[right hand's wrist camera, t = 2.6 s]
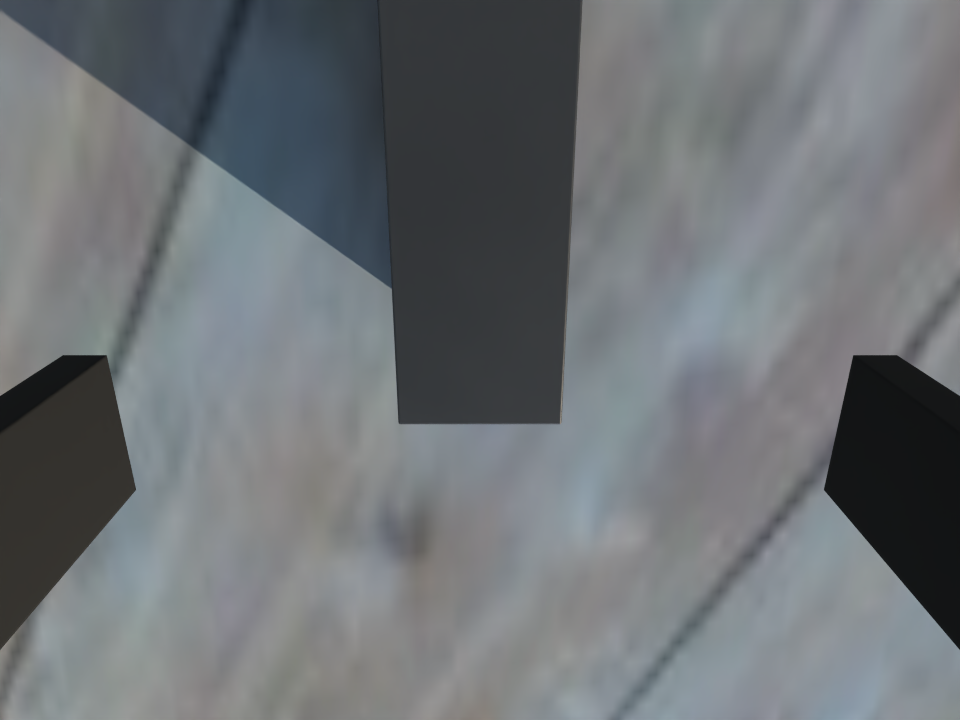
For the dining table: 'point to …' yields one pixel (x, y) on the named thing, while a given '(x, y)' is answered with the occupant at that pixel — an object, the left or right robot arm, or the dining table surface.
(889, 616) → the dining table surface
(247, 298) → the dining table surface
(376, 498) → the dining table surface
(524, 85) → the charcoal box
